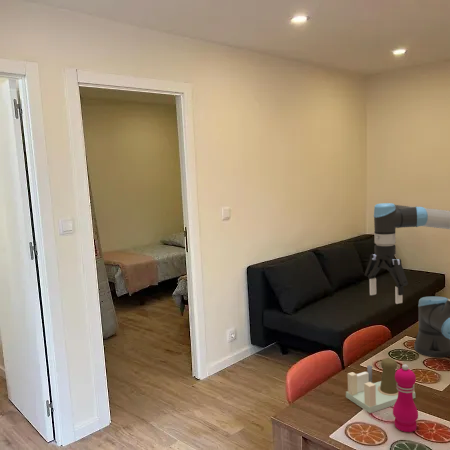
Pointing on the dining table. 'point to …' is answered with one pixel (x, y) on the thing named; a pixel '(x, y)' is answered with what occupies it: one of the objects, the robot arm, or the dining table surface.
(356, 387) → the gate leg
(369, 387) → the stand
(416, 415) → the pepper mill
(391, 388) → the pepper shaker
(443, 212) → the robot arm
